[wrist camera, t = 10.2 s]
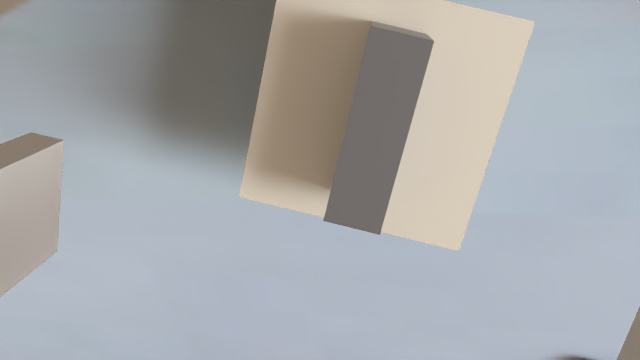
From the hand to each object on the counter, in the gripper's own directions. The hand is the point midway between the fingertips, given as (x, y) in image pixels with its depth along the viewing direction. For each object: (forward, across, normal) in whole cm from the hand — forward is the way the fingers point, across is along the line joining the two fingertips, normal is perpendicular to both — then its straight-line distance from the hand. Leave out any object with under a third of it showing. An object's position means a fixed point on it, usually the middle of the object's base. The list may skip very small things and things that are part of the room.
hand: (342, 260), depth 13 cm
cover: (+16, +1, +1) cm, 16 cm away
